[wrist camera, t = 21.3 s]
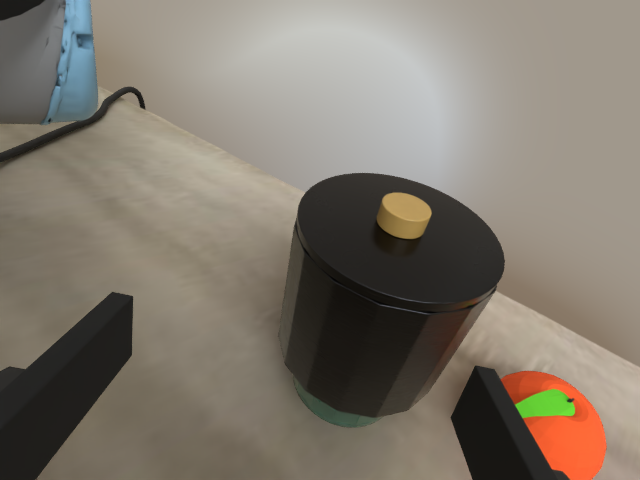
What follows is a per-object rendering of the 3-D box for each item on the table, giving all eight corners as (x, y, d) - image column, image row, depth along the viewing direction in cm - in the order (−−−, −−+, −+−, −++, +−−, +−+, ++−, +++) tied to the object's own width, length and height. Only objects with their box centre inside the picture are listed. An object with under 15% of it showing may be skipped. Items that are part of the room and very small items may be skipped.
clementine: (483, 520, 22) (546, 476, 18) (435, 408, 27) (475, 352, 23) (587, 498, 24) (667, 454, 20) (524, 398, 29) (576, 345, 25)
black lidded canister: (266, 288, 28) (280, 154, 21) (394, 276, 31) (441, 157, 24) (301, 435, 20) (341, 296, 13) (467, 397, 23) (568, 271, 16)
